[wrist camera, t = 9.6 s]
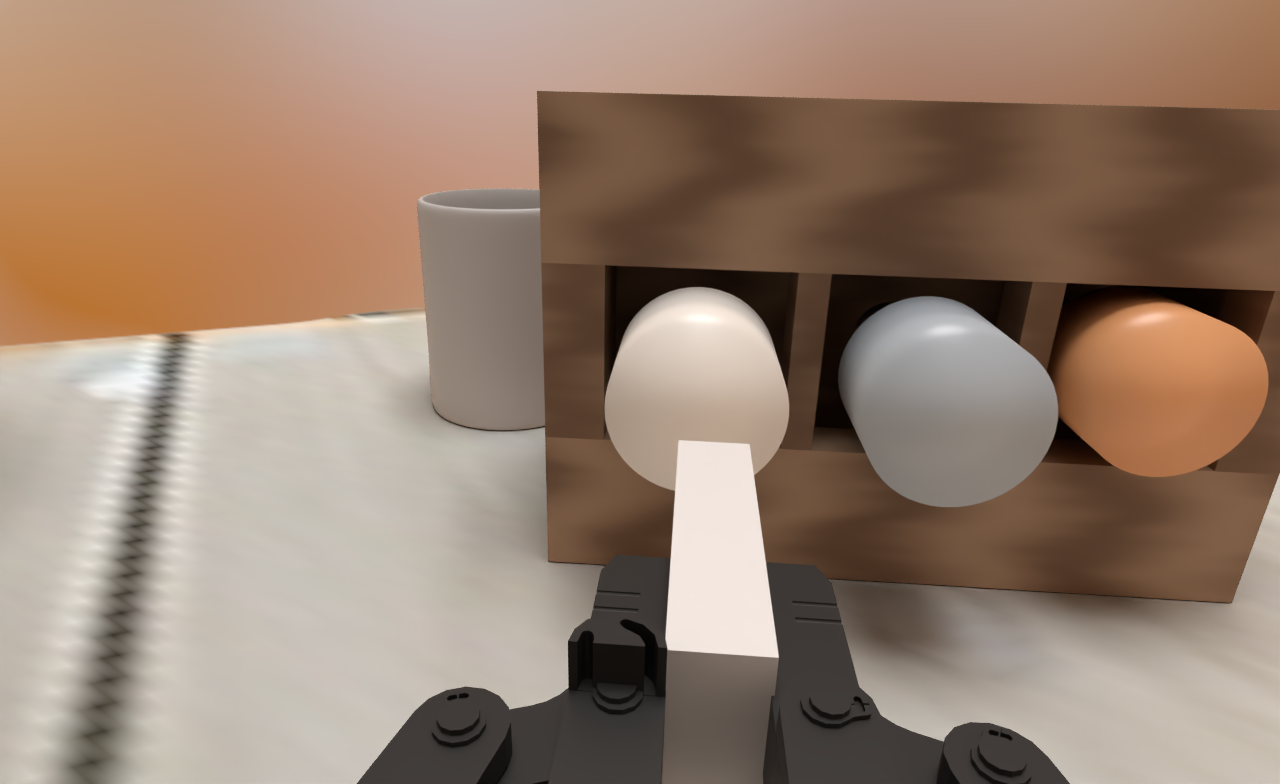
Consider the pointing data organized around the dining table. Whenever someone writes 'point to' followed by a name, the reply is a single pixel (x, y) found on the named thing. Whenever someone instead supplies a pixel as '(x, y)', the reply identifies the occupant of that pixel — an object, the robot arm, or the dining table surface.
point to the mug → (484, 306)
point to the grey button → (945, 401)
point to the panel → (897, 270)
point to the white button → (694, 382)
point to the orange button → (1154, 380)
